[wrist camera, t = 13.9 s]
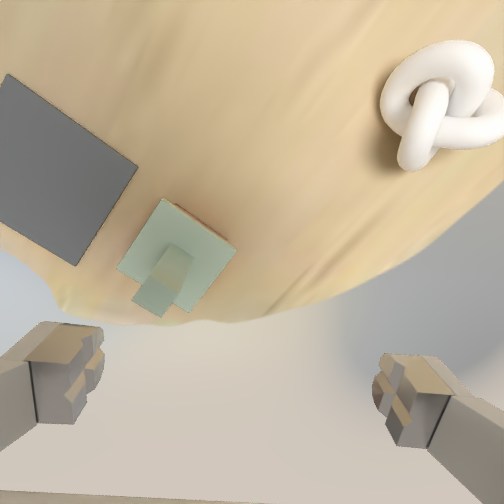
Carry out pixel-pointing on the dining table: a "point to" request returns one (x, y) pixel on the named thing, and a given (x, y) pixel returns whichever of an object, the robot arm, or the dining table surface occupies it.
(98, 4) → the dining table surface
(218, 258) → the lid
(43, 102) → the mat
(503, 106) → the white knot sculpture
